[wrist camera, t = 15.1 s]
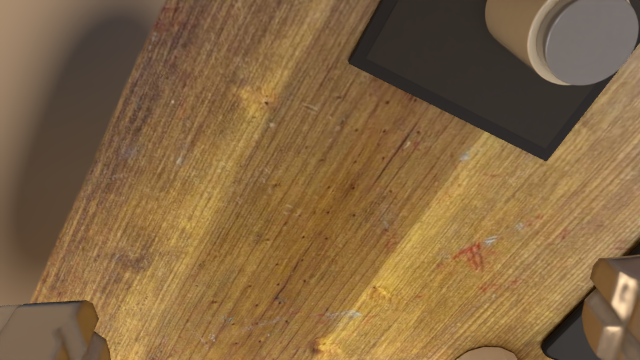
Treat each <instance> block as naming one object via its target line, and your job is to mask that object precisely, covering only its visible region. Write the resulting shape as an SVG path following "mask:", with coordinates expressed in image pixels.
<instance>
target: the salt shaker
mask: <svg viewBox="0 0 640 360" xmlns="http://www.w3.org/2000/svg"><path fill="white" fill-rule="evenodd" d="M485 19H486V24H487V27H488V30H489V32H490V34H491V35H492V36H493V38H494V39H495V40H496V41H497V42H498V43H500V44H501V45H502V46H503V47H505V48H506V49H507V50H508V51H510V52H511V53H512V54H513V55H515V56H516V57H517V58H518V59H520V60H521V61H522V62H523V63H525V64H526V65H527V66H528V67H530V68H531V69H532V70H533V71H535V72H536V73H537V74H538V75H540V76H541V77H542V78H544V79H545V80H547V81H549V82H552V83H555V84H560V85H589V84H593V83H597V82H599V81H602V80H604V79H606V78H608V77H609V76H611V75H612V74H614V73H615V72H616V71H617V70H618V69H620V68H621V67H622V66H623V64H624V63H625V62H626V61H627V59H628V58H629V57H630V55H631V53H632V51H633V49H634V47H635V45H636V41H637V38H638V30H639V26H638V19H637V15H636V13H635V11H634V9H633V7H632V6H631V4H630V2H629V0H487V3H486V8H485Z"/></svg>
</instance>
